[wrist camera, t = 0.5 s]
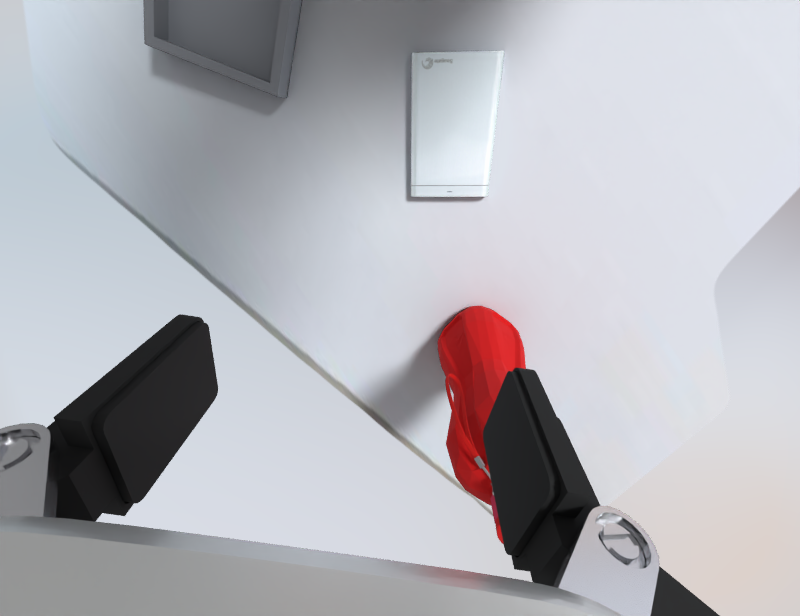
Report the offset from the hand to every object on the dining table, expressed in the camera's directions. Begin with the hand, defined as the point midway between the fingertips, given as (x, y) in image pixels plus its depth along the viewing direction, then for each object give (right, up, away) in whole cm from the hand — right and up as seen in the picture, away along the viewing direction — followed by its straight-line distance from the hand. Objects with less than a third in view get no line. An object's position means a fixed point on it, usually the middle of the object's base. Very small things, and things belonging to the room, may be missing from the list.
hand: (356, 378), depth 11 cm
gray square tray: (-13, +29, +18) cm, 37 cm away
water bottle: (+11, -1, +34) cm, 36 cm away
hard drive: (+7, +20, +23) cm, 32 cm away
